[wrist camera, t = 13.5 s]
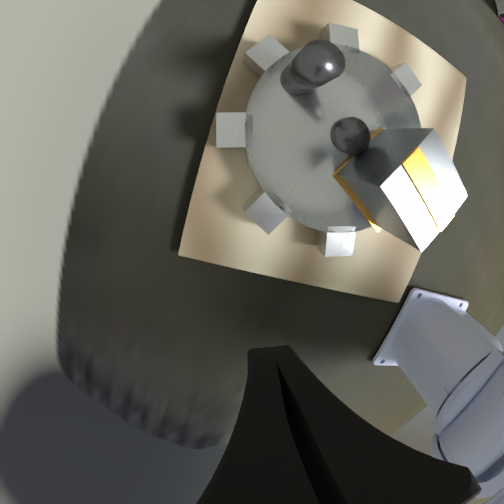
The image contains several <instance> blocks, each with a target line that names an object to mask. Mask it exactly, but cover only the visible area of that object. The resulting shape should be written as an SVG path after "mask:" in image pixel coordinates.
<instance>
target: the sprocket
mask: <svg viewBox="0 0 504 504" xmlns="http://www.w3.org/2000/svg"><path fill="white" fill-rule="evenodd" d="M320 38H321V40H313V41H310V42H309V43H307V44H306V45H305V46H304V47H301V48H298V49H296V50H293V51H291V52H289V51H288V50H287V49H286V48H285V47H284V46H283V45H281V44H280V43H279V42H278V41H277V40H276V39H275V38H274V37H272V36H271V35H270V34H269V35H268V36H266V37H265V38H264V39H262V40H261V41H260V42H258V43H257V44H256V45H254V46H253V47H252V48H250V49H249V50H248V51H247V52H245V54H244V57H243V62H244V63H245V64H246V65H247V66H248V67H249V68H251V69H252V70H253V71H254V72H255V73H256V74H257V75H258V76H259V77H260V79H259V81H258V82H257V84H256V86H255V88H254V89H253V91H252V93H251V95H250V97H249V100H248V102H247V105H246V108H245V112H227V113H216V148H244V151H245V156H246V159H247V162H248V165H249V168H250V170H251V172H252V174H253V176H254V178H255V180H256V182H257V183H258V185H259V186H260V189H259V190H258V191H257V192H256V193H255V194H254V195H253V196H252V197H251V198H250V199H249V200H248V201H247V202H246V203H245V204H244V205H243V206H242V208H243V210H244V212H245V213H246V214H247V215H248V216H249V217H250V218H251V219H252V220H253V221H254V222H255V223H256V224H257V225H258V226H259V227H260V228H261V229H263V230H264V231H265V232H266V233H267V234H268V235H269V234H270V233H271V232H272V231H273V230H274V229H275V228H276V227H277V226H278V225H279V224H280V223H281V222H282V221H283V220H284V219H285V218H286V217H287V216H290V217H291V218H293V219H294V220H295V221H297V222H299V223H301V224H303V225H305V226H307V227H310V228H313V229H316V230H318V239H317V249H318V250H319V251H320V252H321V253H322V254H323V255H324V256H325V257H332V256H353V248H354V240H355V232H356V231H360V230H364V229H367V228H370V227H373V229H374V230H375V231H376V232H377V233H378V232H379V231H380V230H381V228H380V227H378V226H376V225H375V224H374V222H373V221H372V219H371V218H370V217H369V215H368V214H367V213H366V211H365V210H364V209H363V207H362V206H361V205H360V203H359V202H358V201H357V200H356V198H355V197H354V196H353V194H352V193H351V192H350V191H349V189H348V188H347V187H346V186H345V184H344V183H343V182H342V181H341V179H340V178H339V177H338V176H337V175H336V174H337V173H338V172H339V171H340V170H341V169H342V168H343V167H344V166H345V165H346V164H347V163H348V162H349V161H350V160H351V159H352V158H353V157H354V156H355V155H356V154H360V153H362V152H364V151H365V150H366V149H367V147H368V145H369V143H370V141H371V140H372V139H373V138H374V137H375V136H376V135H377V134H378V133H379V132H380V131H381V130H382V129H396V128H421V123H420V119H419V115H418V112H417V109H416V107H415V104H414V102H413V100H412V98H411V95H412V94H413V93H415V92H416V91H417V90H418V89H419V88H420V87H421V86H422V84H421V83H420V81H419V80H418V78H417V77H416V75H415V74H414V73H413V71H412V70H411V68H410V67H409V66H408V64H407V63H406V62H404V63H401V64H398V65H396V66H393V67H392V68H391V69H389V68H388V67H387V66H386V65H385V64H383V63H382V62H381V61H379V60H378V59H376V58H375V57H373V56H371V55H370V54H368V53H366V52H363V51H361V50H359V39H358V29H355V28H351V27H347V26H343V25H338V24H334V23H328V24H327V25H326V26H325V27H324V28H323V29H322V30H321V31H320Z"/></svg>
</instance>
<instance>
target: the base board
mask: <svg viewBox="0 0 504 504" xmlns="http://www.w3.org/2000/svg"><path fill="white" fill-rule="evenodd" d="M328 23H334V24H338V25H343V26H347V27H351V28H355V29H358V39H359V50H361V51H363V52H366V53H368V54H370V55H371V56H373V57H375V58H376V59H378V60H379V61H381V62H382V63H383V64H385V65H386V66H387V67H388V68H389V69H391V68H392V67H393V66H396V65H398V64H401V63H404V62H406V63H407V64H408V66H409V67H410V68H411V70H412V71H413V73H414V74H415V75H416V77H417V78H418V80H419V81H420V83H421V84H422V86H421V87H420V88H419V89H418V90H417V91H416V92H415V93H413V94H412V95H411V98H412V100H413V102H414V104H415V107H416V109H417V112H418V115H419V119H420V123H421V128H435V130H436V132H437V134H438V135H439V137H440V139H441V141H442V143H443V145H444V146H445V148H446V150H447V152H448V154H449V156H450V158H451V160H452V158H453V154H454V149H455V145H456V140H457V136H458V131H459V126H460V120H461V114H462V108H463V102H464V95H465V87H466V77H465V76H463V75H462V74H461V73H460V72H459V71H458V70H457V69H456V68H454V67H453V66H452V65H451V64H450V63H448V62H447V61H446V60H445V59H444V58H442V57H441V56H440V55H439V54H437V53H436V52H435V51H433V50H432V49H431V48H429V47H428V46H427V45H425V44H424V43H423V42H421V41H420V40H418V39H417V38H416V37H414V36H413V35H411V34H410V33H408V32H407V31H405V30H404V29H402V28H401V27H399V26H397V25H396V24H394V23H393V22H391V21H389V20H388V19H386V18H384V17H383V16H381V15H379V14H377V13H376V12H374V11H372V10H370V9H368V8H366V7H364V6H362V5H361V4H359V3H357V2H355V1H353V0H257V2H256V4H255V6H254V9H253V11H252V14H251V16H250V18H249V21H248V23H247V26H246V28H245V31H244V33H243V36H242V38H241V41H240V44H239V46H238V49H237V52H236V54H235V57H234V60H233V62H232V65H231V68H230V71H229V74H228V76H227V79H226V82H225V85H224V88H223V91H222V94H221V97H220V100H219V103H218V106H217V109H216V112H215V116H214V119H213V122H212V125H211V129H210V132H209V135H208V139H207V142H206V145H205V149H204V152H203V156H202V159H201V163H200V167H199V170H198V174H197V178H196V182H195V185H194V189H193V193H192V197H191V201H190V205H189V209H188V213H187V217H186V222H185V226H184V230H183V235H182V239H181V244H180V248H179V253H178V255H180V256H184V257H188V258H192V259H196V260H201V261H205V262H209V263H213V264H218V265H222V266H226V267H231V268H235V269H240V270H244V271H248V272H253V273H257V274H262V275H266V276H271V277H275V278H280V279H284V280H289V281H294V282H298V283H303V284H308V285H312V286H317V287H322V288H326V289H331V290H336V291H341V292H346V293H351V294H355V295H360V296H365V297H370V298H375V299H380V300H385V301H390V302H395V303H399V301H400V299H401V297H402V295H403V293H404V291H405V289H406V287H407V285H408V282H409V280H410V278H411V276H412V274H413V271H414V269H415V267H416V264H417V262H418V260H419V257H420V255H421V253H422V252H421V251H419V250H417V249H416V248H414V247H412V246H411V245H409V244H407V243H406V242H404V241H402V240H401V239H399V238H397V237H395V236H394V235H392V234H390V233H388V232H387V231H385V230H383V229H381V230H380V231H379V232H378V233H377V232H376V231H375V230H374V229H373V227H370V228H367V229H364V230H360V231H356V232H355V240H354V248H353V256H332V257H325V256H324V255H323V254H322V253H321V252H320V251H319V250H318V249H317V239H318V230H316V229H313V228H310V227H307V226H305V225H303V224H301V223H299V222H297V221H295V220H294V219H293V218H291V217H290V216H287V217H286V218H285V219H284V220H283V221H282V222H281V223H280V224H279V225H278V226H277V227H276V228H275V229H274V230H273V231H272V232H271V233H270V234H269V235H268V234H267V233H266V232H265V231H264V230H263V229H261V228H260V227H259V226H258V225H257V224H256V223H255V222H254V221H253V220H252V219H251V218H250V217H249V216H248V215H247V214H246V213H245V212H244V210H243V208H242V206H243V205H244V204H245V203H246V202H247V201H248V200H249V199H250V198H251V197H252V196H253V195H254V194H255V193H256V192H257V191H258V190H259V189H260V186H259V185H258V183H257V182H256V180H255V178H254V176H253V174H252V172H251V170H250V168H249V165H248V162H247V159H246V156H245V151H244V148H216V113H227V112H245V108H246V105H247V102H248V100H249V97H250V95H251V93H252V91H253V89H254V88H255V86H256V84H257V82H258V81H259V79H260V77H259V76H258V75H257V74H256V73H255V72H254V71H253V70H252V69H251V68H249V67H248V66H247V65H246V64H245V63H244V62H243V57H244V54H245V52H247V51H248V50H249V49H250V48H252V47H253V46H254V45H256V44H257V43H258V42H260V41H261V40H262V39H264V38H265V37H266V36H268V35H269V34H270V35H271V36H272V37H274V38H275V39H276V40H277V41H278V42H279V43H280V44H281V45H283V46H284V47H285V48H286V49H287V50H288V51H289V52H291V51H293V50H296V49H298V48H301V47H304V46H305V45H306V44H307V43H309V42H310V41H313V40H321V38H320V31H321V30H322V29H323V28H324V27H325V26H326V25H327V24H328Z"/></svg>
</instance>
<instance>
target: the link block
mask: <svg viewBox="0 0 504 504" xmlns="http://www.w3.org/2000/svg"><path fill="white" fill-rule="evenodd" d="M336 175H337V176H338V177H339V178H340V179H341V181H342V182H343V183H344V184H345V186H346V187H347V188H348V189H349V191H350V192H351V193H352V194H353V196H354V197H355V198H356V200H357V201H358V202H359V203H360V205H361V206H362V207H363V209H364V210H365V211H366V213H367V214H368V215H369V217H370V218H371V219H372V221H373V222H374V224H375V225H376V226H378V227H380V228H381V229H383V230H385V231H387V232H388V233H390V234H392V235H394V236H395V237H397V238H399V239H401V240H402V241H404V242H406V243H407V244H409V245H411V246H412V247H414V248H416V249H417V250H419V251H421V252H422V251H423V250H424V249H425V248H426V247H427V246H428V244H429V243H430V242H431V241H432V240H433V239H434V238H435V236H436V235H437V234H438V233H439V232H441V231H442V230H443V229H444V228H445V227H446V225H447V224H448V223H449V222H450V221H451V219H452V218H453V217H454V216H455V214H454V213H455V212H456V211H457V210H458V208H459V207H460V206H461V204H462V203H463V202H464V200H465V199H466V198H467V196H468V195H467V193H466V191H465V188H464V186H463V184H462V181H461V179H460V177H459V175H458V173H457V170H456V168H455V166H454V164H453V162H452V160H451V158H450V156H449V154H448V152H447V150H446V148H445V146H444V145H443V143H442V141H441V139H440V137H439V135H438V134H437V132H436V130H435V128H396V129H382V130H381V131H380V132H379V133H378V134H377V135H376V136H375V137H374V138H373V139H372V140H371V141H370V143H369V145H368V147H367V149H366V150H365V151H364V152H362V153H360V154H356V155H355V156H354V157H353V158H352V159H351V160H350V161H349V162H348V163H347V164H346V165H345V166H344V167H343V168H342V169H341V170H340V171H339V172H338V173H337V174H336Z"/></svg>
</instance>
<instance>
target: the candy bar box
mask: <svg viewBox="0 0 504 504" xmlns="http://www.w3.org/2000/svg"><path fill="white" fill-rule="evenodd" d="M494 2H495V5H496V9H497V13H498V17H499V18H500V19H501V20H502V21H503V22H504V0H494Z"/></svg>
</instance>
